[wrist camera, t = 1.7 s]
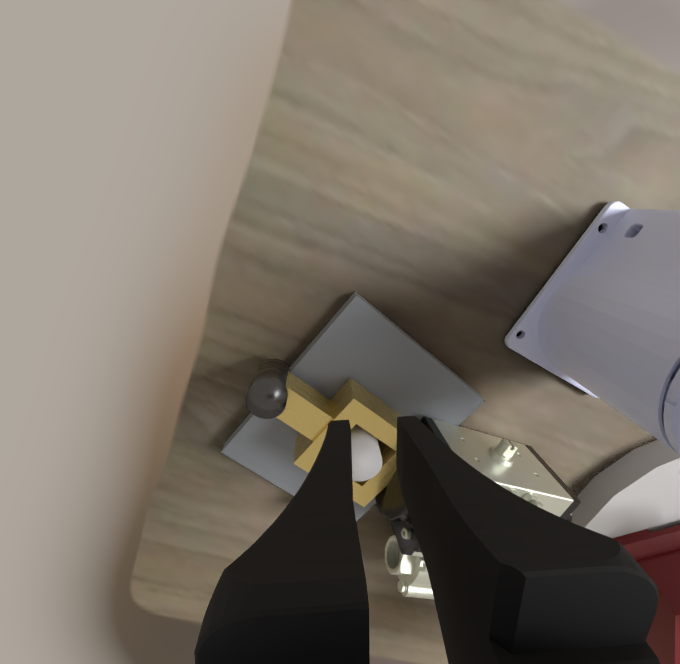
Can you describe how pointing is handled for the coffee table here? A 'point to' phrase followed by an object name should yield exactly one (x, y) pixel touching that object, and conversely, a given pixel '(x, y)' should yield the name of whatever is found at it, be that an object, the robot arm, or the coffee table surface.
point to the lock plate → (370, 372)
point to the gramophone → (643, 528)
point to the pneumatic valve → (492, 461)
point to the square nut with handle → (324, 418)
